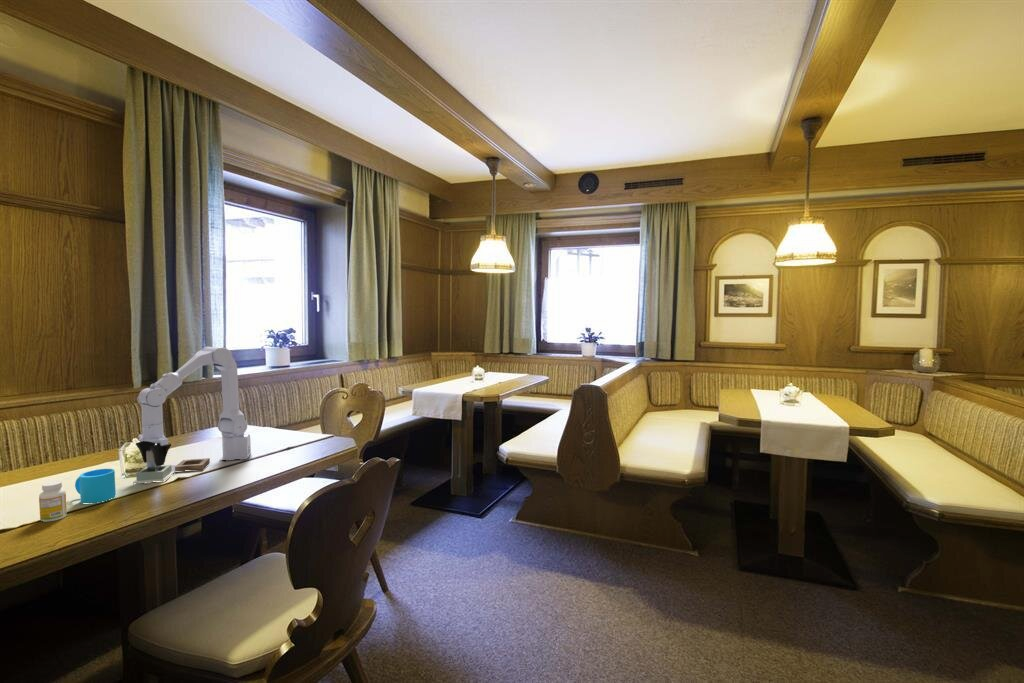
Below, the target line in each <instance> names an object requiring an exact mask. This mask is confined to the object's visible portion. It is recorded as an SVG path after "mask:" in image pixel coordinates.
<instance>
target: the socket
mask: <svg viewBox="0 0 1024 683" xmlns="http://www.w3.org/2000/svg"><path fill="white" fill-rule="evenodd" d="M210 461H211V460H210V458H209V457H207V458H205V457H204V458H195V459H192V458H191V459H183V460H181V461H180V462H178V463H177V465H175V466H174V471H185V470H201V471H204V470H205V469H206V468H207V467H208V466H209V465H210V464H211V462H210ZM209 463H210V464H209ZM208 464H209V465H208ZM207 465H208V466H207ZM206 466H207V467H206ZM205 467H206V468H205ZM204 468H205V469H204ZM203 469H204V470H203Z"/></svg>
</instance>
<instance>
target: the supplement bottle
mask: <svg viewBox="0 0 1024 683" xmlns="http://www.w3.org/2000/svg"><path fill="white" fill-rule="evenodd" d="M62 487H63V481H60V480H55V481H49V482H46V483H43V484H42V485H41V490H42V492H41V493H39V495H38V503H39V519H40V521H41V522H42V521H43V522H44V523H49V522H55V521H58V520H61V519H64V518H65V517H67V515H68V513H67V511H68V510H67V509H68V508H67V492H66V489H64V488H62Z"/></svg>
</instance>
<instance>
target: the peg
mask: <svg viewBox="0 0 1024 683" xmlns="http://www.w3.org/2000/svg"><path fill="white" fill-rule="evenodd" d="M146 458H147V463H146V467H147V472H153V471H161V470H162V466H163V465H160V466H156V463H155V458H154V454H153V451H152V450H151V449H150V450H147V451H146Z"/></svg>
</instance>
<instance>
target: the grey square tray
mask: <svg viewBox="0 0 1024 683" xmlns="http://www.w3.org/2000/svg"><path fill="white" fill-rule="evenodd" d="M161 466H162V470H161V471H153V472H147V466H145V467H144V468H141V470H139V471H137V473H136V474H135V475H136V477H135V478H136V479H135V480H134V481H133V482H132V483H133V484H132V485H135V484H134V483H144V484H146V483H145V482H153V481H164V480H166V479H167V478H168V477H169V476H170V475H172V474H173V473H174V472H175V470H174V471H172V469H173V468H172V464H164V465H161ZM175 473H176V472H175ZM172 476H173V475H172Z"/></svg>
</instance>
